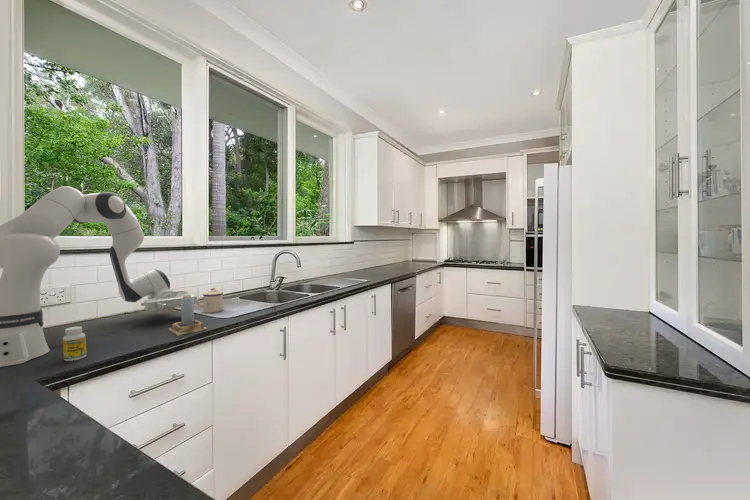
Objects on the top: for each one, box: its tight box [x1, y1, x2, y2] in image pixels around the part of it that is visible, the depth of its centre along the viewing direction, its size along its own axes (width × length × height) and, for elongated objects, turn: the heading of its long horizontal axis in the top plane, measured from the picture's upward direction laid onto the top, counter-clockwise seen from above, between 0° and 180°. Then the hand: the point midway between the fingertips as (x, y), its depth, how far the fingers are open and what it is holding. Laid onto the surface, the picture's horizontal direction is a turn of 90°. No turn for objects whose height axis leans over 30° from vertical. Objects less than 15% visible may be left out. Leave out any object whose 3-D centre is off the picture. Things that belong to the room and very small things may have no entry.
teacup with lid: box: [196, 286, 224, 314], centre depth 168 cm, size 12×9×12 cm
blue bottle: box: [180, 294, 195, 327], centre depth 136 cm, size 4×4×14 cm
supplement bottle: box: [62, 326, 87, 362], centre depth 106 cm, size 5×5×10 cm
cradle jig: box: [168, 318, 208, 336], centre depth 136 cm, size 11×11×3 cm
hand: (177, 304), depth 144 cm, fingers open, 8 cm apart
